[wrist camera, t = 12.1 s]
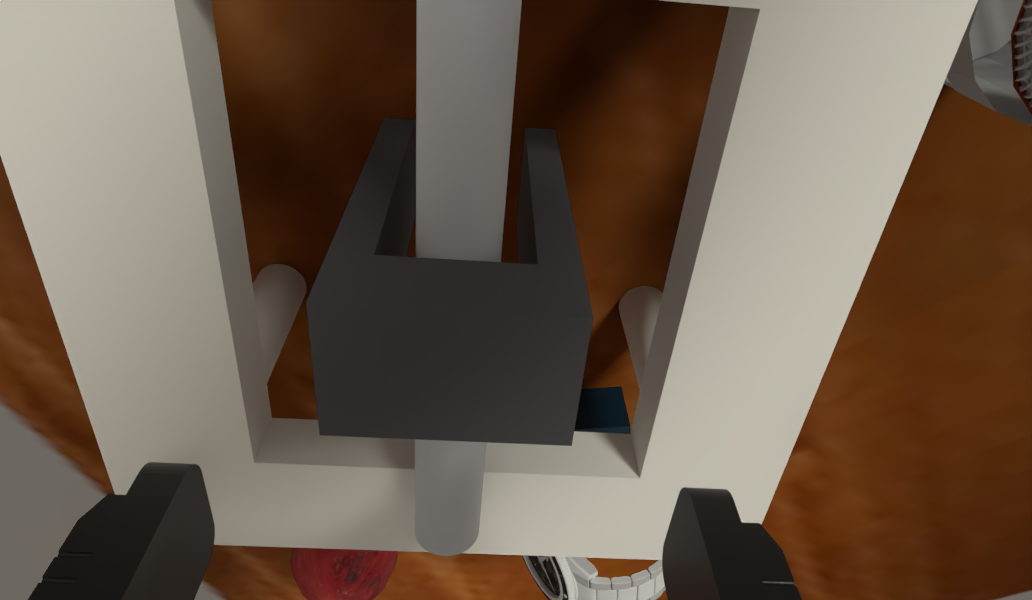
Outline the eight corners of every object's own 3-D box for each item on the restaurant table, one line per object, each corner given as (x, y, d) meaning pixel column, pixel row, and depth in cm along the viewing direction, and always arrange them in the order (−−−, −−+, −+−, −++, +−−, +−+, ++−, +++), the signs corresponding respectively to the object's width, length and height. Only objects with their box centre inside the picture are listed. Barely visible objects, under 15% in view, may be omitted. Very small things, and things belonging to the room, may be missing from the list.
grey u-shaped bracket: (555, 129, 23) (593, 318, 14) (544, 224, 25) (571, 446, 16) (384, 117, 23) (305, 303, 13) (386, 214, 25) (319, 435, 15)
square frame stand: (790, -181, 24) (1149, -215, 11) (665, 331, 36) (763, 615, 23) (173, -244, 23) (-283, -372, 10) (254, 308, 35) (102, 596, 21)
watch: (507, 394, 38) (510, 566, 29) (653, 384, 38) (702, 554, 29) (514, 465, 41) (519, 642, 32) (649, 457, 41) (693, 632, 32)
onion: (345, 453, 41) (314, 573, 34) (423, 497, 43) (409, 618, 36) (290, 504, 43) (252, 626, 36) (367, 544, 45) (344, 665, 38)
